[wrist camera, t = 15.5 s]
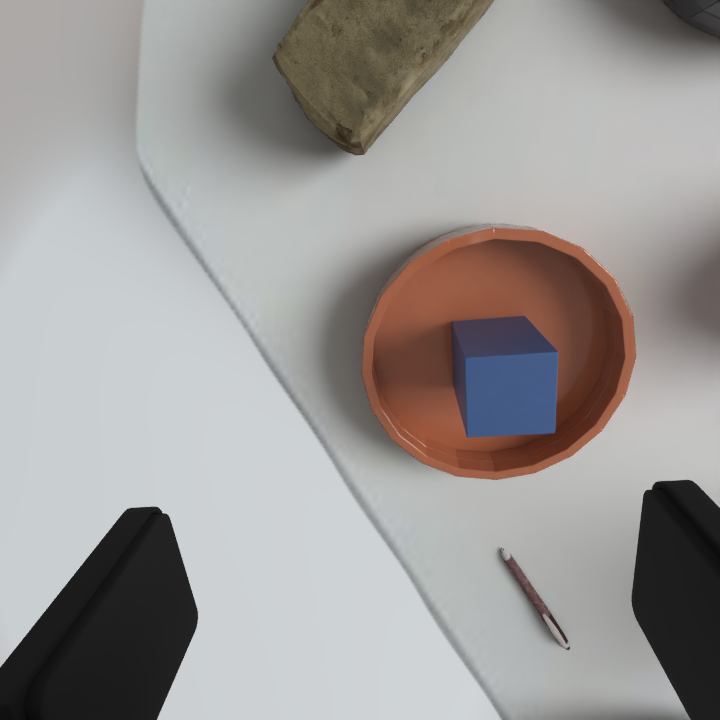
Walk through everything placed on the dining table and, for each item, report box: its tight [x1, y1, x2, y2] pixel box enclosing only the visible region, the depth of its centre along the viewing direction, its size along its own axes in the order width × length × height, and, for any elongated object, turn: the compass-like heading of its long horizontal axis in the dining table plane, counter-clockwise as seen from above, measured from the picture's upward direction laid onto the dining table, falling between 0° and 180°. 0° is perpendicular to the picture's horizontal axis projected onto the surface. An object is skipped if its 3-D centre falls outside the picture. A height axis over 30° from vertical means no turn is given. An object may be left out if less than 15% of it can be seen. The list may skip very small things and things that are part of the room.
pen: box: [501, 548, 570, 650], centre depth 37 cm, size 11×1×1 cm, turn 33°
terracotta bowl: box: [362, 224, 636, 480], centre depth 29 cm, size 15×15×3 cm
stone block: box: [272, 0, 494, 155], centre depth 23 cm, size 6×12×5 cm, turn 137°
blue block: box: [451, 316, 558, 438], centre depth 27 cm, size 4×4×6 cm
